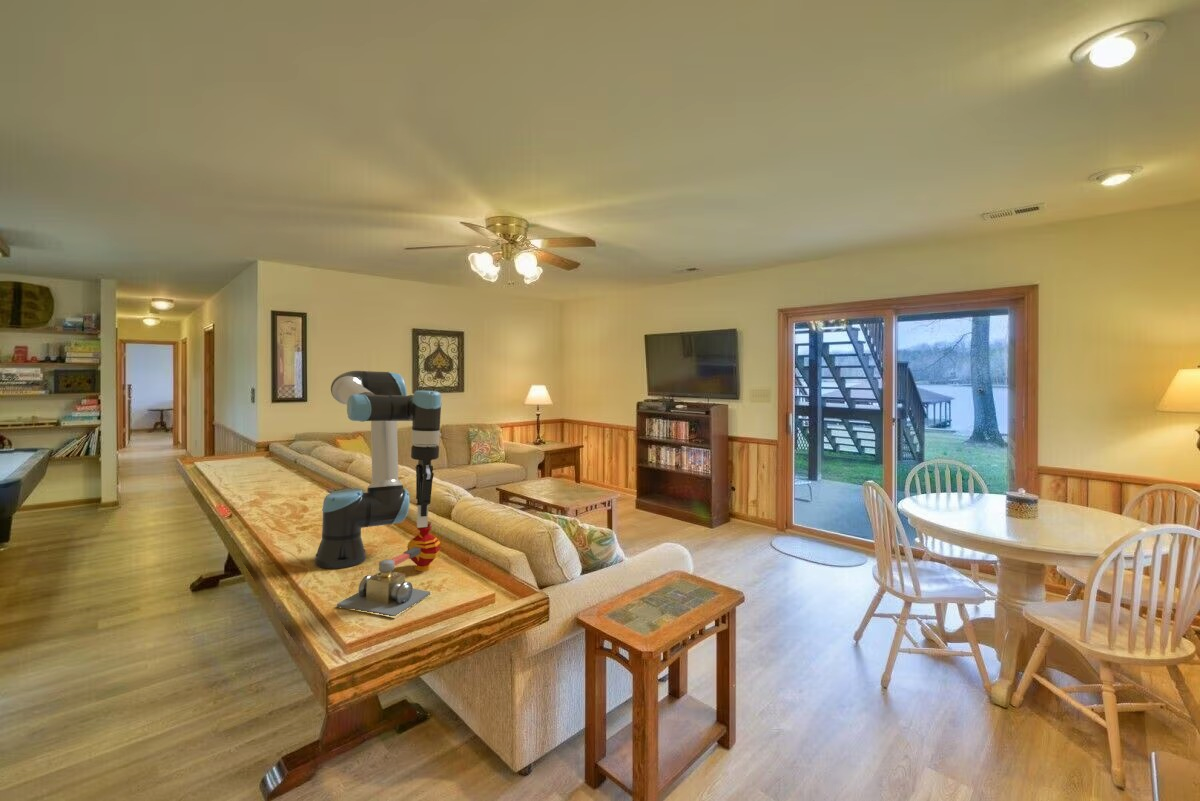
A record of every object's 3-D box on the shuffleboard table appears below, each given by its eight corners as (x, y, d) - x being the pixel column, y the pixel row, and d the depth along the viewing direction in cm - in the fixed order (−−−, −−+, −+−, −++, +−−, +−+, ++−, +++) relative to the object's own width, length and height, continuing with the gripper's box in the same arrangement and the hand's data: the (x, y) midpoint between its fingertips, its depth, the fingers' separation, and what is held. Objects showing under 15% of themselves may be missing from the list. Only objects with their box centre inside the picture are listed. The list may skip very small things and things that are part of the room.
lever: (388, 572, 140) (388, 565, 140) (375, 570, 141) (375, 563, 141) (422, 554, 155) (423, 548, 155) (411, 552, 157) (411, 546, 156)
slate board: (336, 607, 137) (337, 603, 137) (377, 585, 153) (377, 582, 153) (394, 619, 133) (394, 615, 133) (430, 595, 148) (430, 591, 148)
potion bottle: (405, 563, 171) (407, 519, 170) (437, 561, 175) (439, 517, 175) (406, 575, 161) (408, 528, 161) (440, 572, 166) (442, 526, 165)
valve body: (355, 601, 141) (356, 571, 141) (372, 591, 148) (373, 562, 148) (398, 609, 138) (400, 579, 137) (414, 599, 144) (416, 570, 144)
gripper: (444, 447, 142) (440, 531, 143) (434, 441, 153) (430, 519, 154) (415, 448, 138) (412, 534, 139) (407, 442, 149) (404, 521, 150)
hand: (422, 526), depth 147 cm, fingers closed
